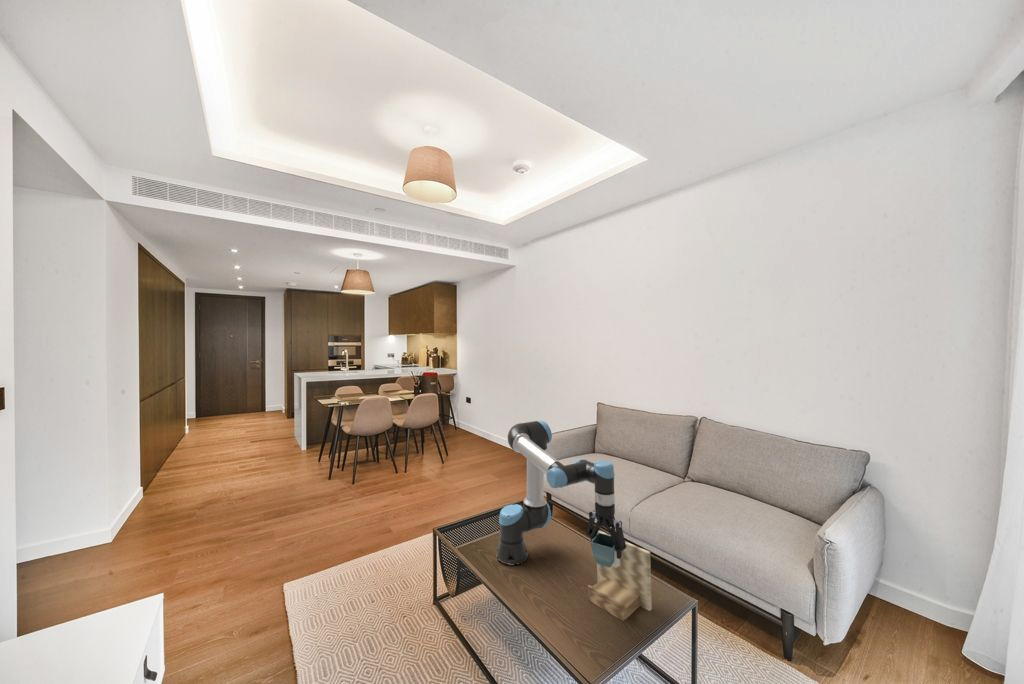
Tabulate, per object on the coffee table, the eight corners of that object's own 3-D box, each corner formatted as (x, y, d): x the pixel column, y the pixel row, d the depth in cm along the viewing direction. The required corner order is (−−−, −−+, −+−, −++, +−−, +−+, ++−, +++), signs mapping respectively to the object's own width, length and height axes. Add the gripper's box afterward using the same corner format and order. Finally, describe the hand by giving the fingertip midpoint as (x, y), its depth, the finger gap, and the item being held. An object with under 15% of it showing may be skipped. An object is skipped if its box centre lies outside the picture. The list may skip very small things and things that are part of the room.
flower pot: (613, 572, 137) (613, 548, 138) (591, 565, 142) (590, 542, 142) (620, 560, 145) (619, 538, 145) (598, 554, 150) (598, 532, 150)
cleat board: (580, 594, 151) (578, 540, 152) (599, 580, 160) (598, 529, 161) (633, 627, 133) (631, 566, 134) (651, 609, 142) (650, 551, 143)
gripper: (576, 496, 150) (577, 552, 149) (624, 514, 133) (625, 577, 133) (587, 491, 155) (588, 545, 154) (635, 508, 138) (636, 568, 138)
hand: (605, 560), depth 144 cm, fingers closed on flower pot, 9 cm apart
